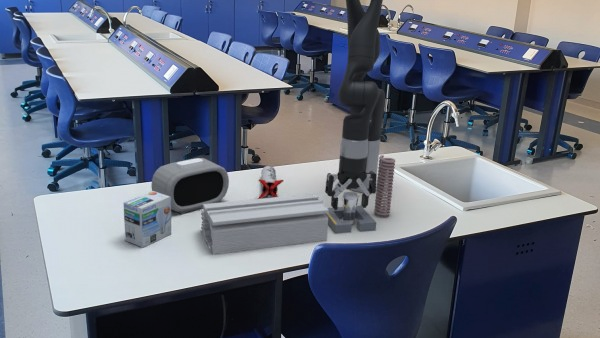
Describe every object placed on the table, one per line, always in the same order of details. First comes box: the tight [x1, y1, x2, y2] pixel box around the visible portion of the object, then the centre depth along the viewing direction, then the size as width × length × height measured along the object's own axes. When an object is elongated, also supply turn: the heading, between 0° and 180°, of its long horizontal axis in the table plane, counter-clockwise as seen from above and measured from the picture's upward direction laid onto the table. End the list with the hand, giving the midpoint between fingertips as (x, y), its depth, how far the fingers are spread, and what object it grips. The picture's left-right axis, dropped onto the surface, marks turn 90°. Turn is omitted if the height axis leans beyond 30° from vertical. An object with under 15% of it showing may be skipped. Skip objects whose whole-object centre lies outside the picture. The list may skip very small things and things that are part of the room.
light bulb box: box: [122, 190, 172, 248], centre depth 155 cm, size 11×7×11 cm, turn 148°
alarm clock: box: [151, 157, 230, 214], centre depth 176 cm, size 21×10×13 cm, turn 131°
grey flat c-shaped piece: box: [324, 205, 377, 234], centre depth 171 cm, size 12×12×3 cm
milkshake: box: [342, 191, 362, 225], centre depth 170 cm, size 5×5×10 cm
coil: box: [373, 154, 396, 216], centre depth 175 cm, size 5×5×18 cm
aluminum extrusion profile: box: [200, 193, 329, 255], centre depth 160 cm, size 14×31×10 cm, turn 111°
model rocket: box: [257, 165, 284, 199], centre depth 193 cm, size 11×23×10 cm
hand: (349, 208), depth 170 cm, fingers open, 8 cm apart
